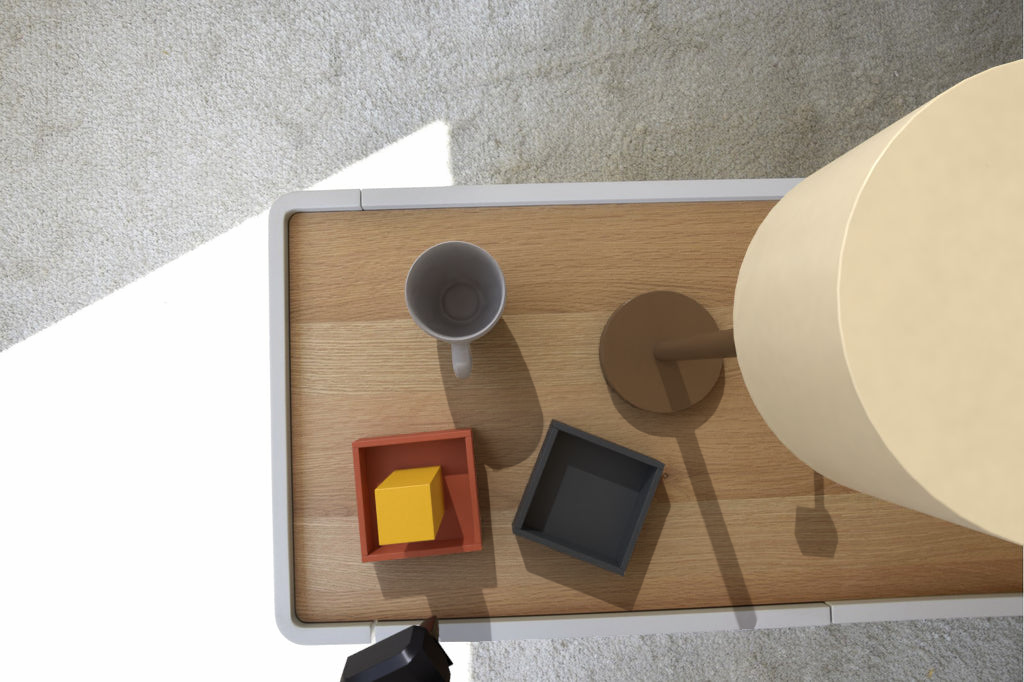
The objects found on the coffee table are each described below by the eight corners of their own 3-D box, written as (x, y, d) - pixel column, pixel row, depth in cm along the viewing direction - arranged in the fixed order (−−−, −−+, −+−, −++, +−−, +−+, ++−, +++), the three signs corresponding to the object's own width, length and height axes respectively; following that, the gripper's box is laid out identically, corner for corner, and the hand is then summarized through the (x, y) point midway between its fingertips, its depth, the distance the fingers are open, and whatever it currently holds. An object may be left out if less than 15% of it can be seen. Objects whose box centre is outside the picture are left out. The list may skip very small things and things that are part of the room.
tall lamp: (715, 432, 66) (1303, 596, 18) (578, 408, 66) (802, 509, 18) (736, 296, 67) (1359, 101, 19) (601, 272, 66) (877, 11, 18)
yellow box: (445, 511, 64) (434, 539, 53) (399, 515, 64) (379, 545, 53) (441, 464, 64) (429, 484, 53) (395, 469, 64) (374, 489, 53)
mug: (414, 261, 66) (400, 243, 56) (502, 256, 66) (503, 236, 56) (422, 381, 65) (409, 383, 56) (510, 374, 66) (513, 375, 56)
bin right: (616, 565, 65) (623, 576, 61) (511, 524, 65) (512, 533, 61) (656, 459, 66) (665, 464, 62) (552, 418, 65) (555, 421, 62)
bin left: (482, 540, 65) (482, 550, 61) (369, 552, 64) (361, 563, 61) (472, 427, 65) (470, 430, 62) (359, 438, 65) (351, 442, 61)
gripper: (644, 922, 38) (606, 705, 53) (483, 690, 33) (491, 525, 48) (476, 989, 39) (485, 759, 54) (301, 774, 35) (364, 589, 50)
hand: (461, 662), depth 52 cm, fingers open, 9 cm apart
